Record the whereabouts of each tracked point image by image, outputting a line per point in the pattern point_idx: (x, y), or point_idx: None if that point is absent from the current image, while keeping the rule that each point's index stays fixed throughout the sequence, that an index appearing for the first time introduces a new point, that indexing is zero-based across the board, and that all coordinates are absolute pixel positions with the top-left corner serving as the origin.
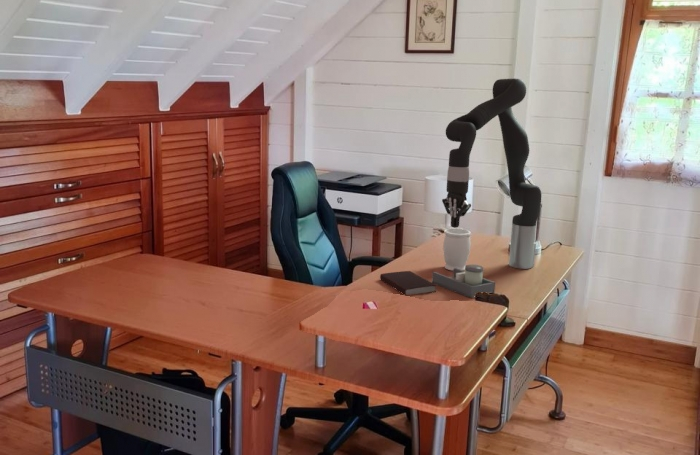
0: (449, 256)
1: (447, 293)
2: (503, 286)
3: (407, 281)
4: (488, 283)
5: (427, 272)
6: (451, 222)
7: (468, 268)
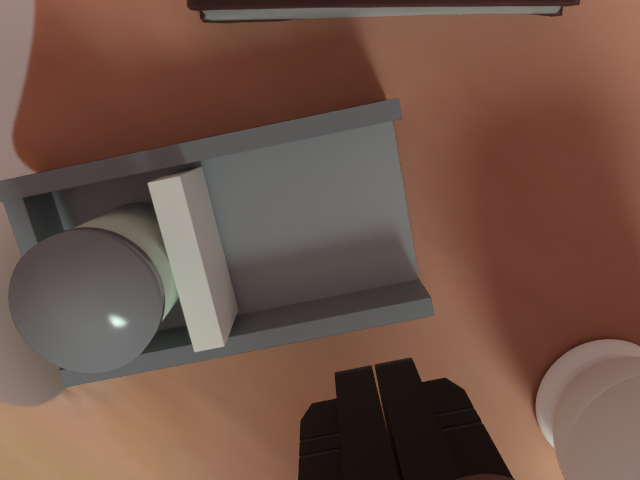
0: (626, 380)
1: (156, 81)
2: (195, 467)
3: None
4: None
5: (599, 188)
6: (426, 395)
7: (54, 235)
